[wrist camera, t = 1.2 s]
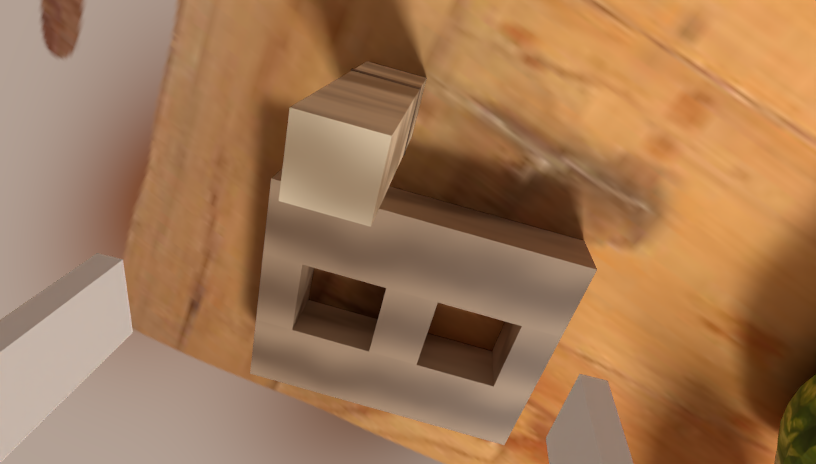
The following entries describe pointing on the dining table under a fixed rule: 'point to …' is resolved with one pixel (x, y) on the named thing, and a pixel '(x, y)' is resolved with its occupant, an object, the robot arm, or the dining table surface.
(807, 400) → the lettuce
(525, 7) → the dining table surface
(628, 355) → the dining table surface
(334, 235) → the board
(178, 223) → the dining table surface
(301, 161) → the peg
